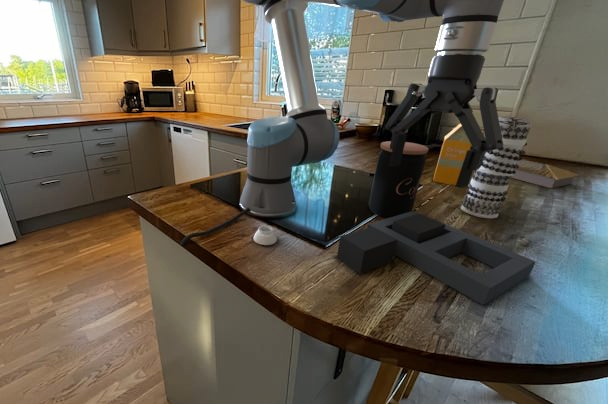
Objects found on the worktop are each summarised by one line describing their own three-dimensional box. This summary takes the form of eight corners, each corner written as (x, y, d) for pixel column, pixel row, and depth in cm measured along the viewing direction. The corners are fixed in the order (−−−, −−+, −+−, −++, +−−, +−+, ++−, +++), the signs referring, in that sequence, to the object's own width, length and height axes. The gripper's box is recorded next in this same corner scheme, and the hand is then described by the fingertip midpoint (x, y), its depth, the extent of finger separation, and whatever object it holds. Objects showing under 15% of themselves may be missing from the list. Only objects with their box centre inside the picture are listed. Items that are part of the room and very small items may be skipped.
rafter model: (451, 162, 129) (456, 148, 126) (473, 159, 134) (477, 146, 132) (553, 189, 99) (561, 171, 97) (575, 184, 105) (583, 167, 102)
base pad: (483, 305, 48) (490, 288, 46) (365, 237, 67) (367, 223, 66) (528, 277, 55) (536, 261, 53) (410, 223, 74) (413, 210, 73)
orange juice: (458, 178, 108) (476, 122, 100) (458, 185, 101) (478, 125, 93) (433, 174, 111) (449, 120, 103) (432, 181, 105) (448, 123, 97)
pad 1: (359, 274, 55) (364, 250, 53) (336, 257, 59) (340, 235, 57) (392, 261, 59) (397, 239, 57) (367, 246, 63) (372, 226, 61)
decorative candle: (459, 202, 87) (488, 114, 77) (498, 210, 83) (535, 117, 73) (458, 212, 81) (489, 117, 71) (501, 222, 76) (541, 121, 66)
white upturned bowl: (278, 237, 66) (256, 233, 68) (279, 225, 65) (257, 221, 67) (273, 248, 62) (250, 244, 63) (274, 236, 61) (251, 232, 62)
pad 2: (413, 254, 61) (419, 233, 59) (388, 241, 66) (393, 221, 64) (439, 244, 65) (445, 224, 63) (414, 232, 70) (419, 213, 68)
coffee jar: (392, 223, 74) (409, 152, 66) (359, 207, 82) (371, 143, 75) (419, 215, 78) (438, 148, 71) (385, 201, 87) (399, 139, 80)
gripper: (381, 55, 58) (361, 160, 66) (546, 50, 38) (487, 201, 47) (404, 56, 61) (382, 157, 70) (567, 53, 42) (508, 193, 50)
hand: (424, 175), depth 58 cm, fingers open, 13 cm apart
